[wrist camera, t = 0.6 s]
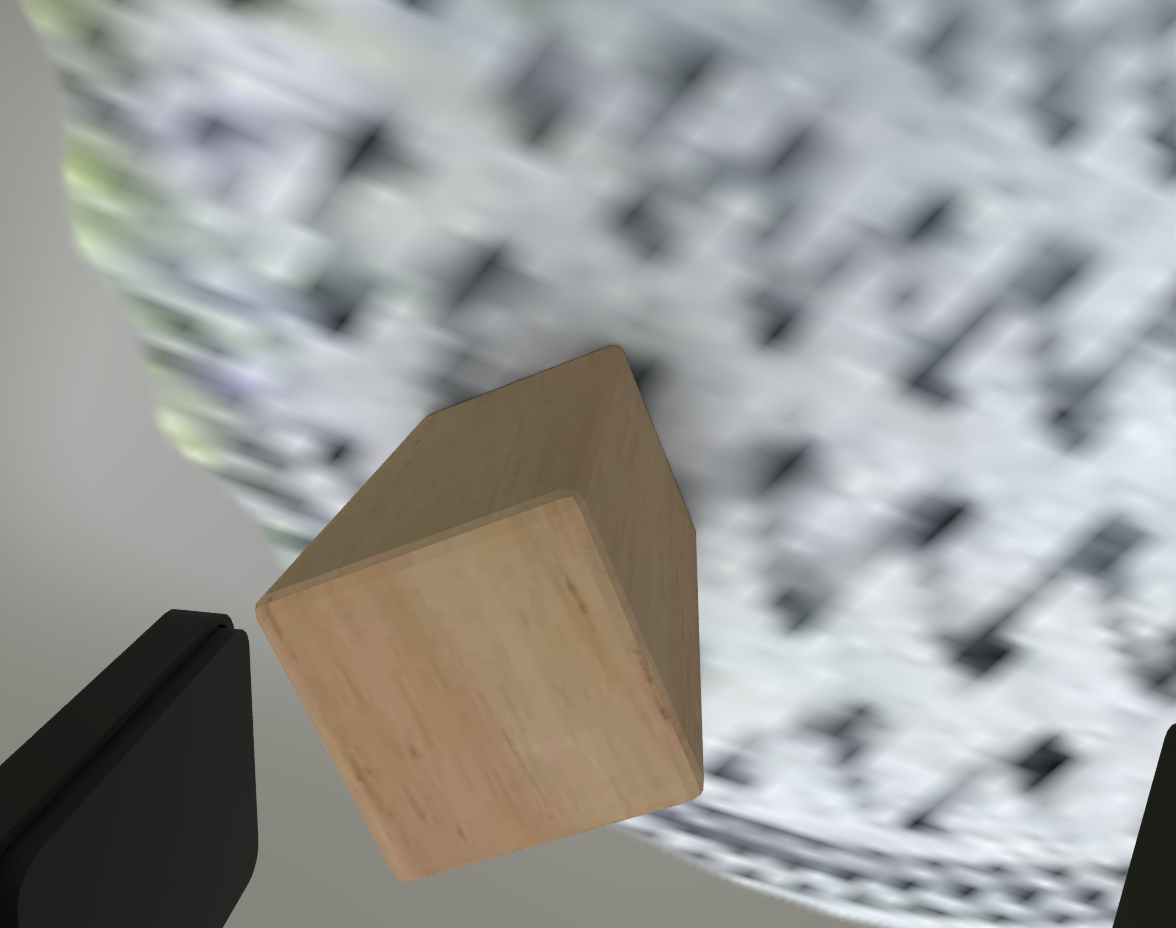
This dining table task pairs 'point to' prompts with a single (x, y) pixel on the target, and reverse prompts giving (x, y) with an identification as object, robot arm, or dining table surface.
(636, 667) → the wooden block
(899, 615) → the dining table surface
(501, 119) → the dining table surface
